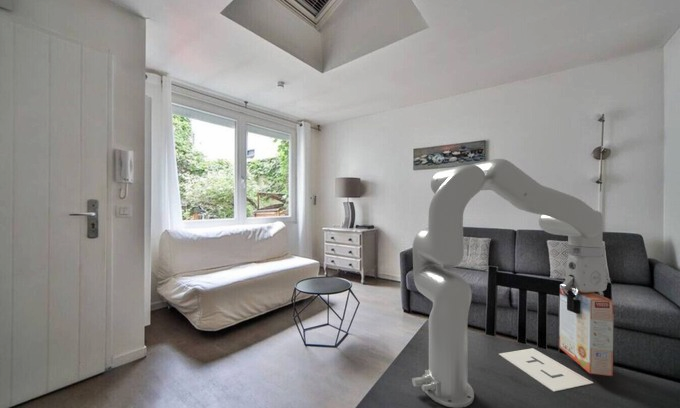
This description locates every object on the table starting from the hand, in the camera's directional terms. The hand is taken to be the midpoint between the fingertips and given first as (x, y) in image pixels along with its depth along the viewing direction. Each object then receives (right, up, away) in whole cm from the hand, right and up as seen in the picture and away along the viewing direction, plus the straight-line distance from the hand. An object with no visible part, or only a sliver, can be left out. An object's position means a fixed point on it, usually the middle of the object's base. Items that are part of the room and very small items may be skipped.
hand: (584, 310), depth 80 cm
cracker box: (0, -15, 0) cm, 15 cm away
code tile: (-12, -18, +1) cm, 21 cm away
